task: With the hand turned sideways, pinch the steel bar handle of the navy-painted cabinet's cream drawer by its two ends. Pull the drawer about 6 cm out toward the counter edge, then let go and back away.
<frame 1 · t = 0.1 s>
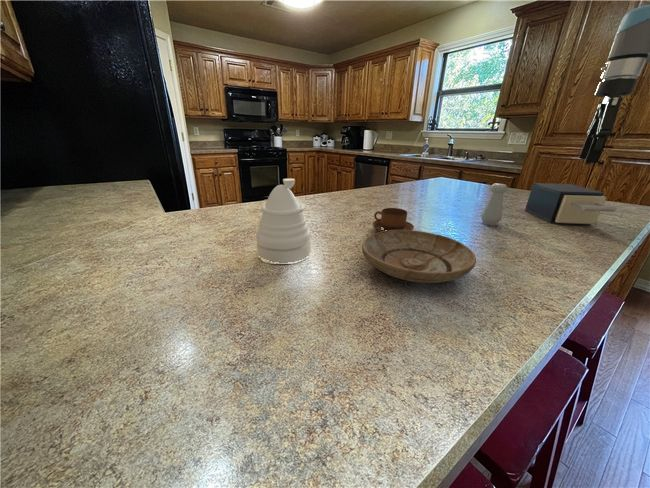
hand: (587, 160, 81), 20 cm above the worktop, tool pointing down, fingers open, 13 cm apart
drawer: (572, 207, 88), point 5 cm above the worktop, slide at 1.0 cm
ceramic bowl: (413, 267, 60), on the worktop
honey pot: (284, 253, 66), on the worktop
cup and saucer: (392, 231, 81), on the worktop
cabinet: (555, 217, 96), on the worktop
salt shaker: (489, 224, 88), on the worktop
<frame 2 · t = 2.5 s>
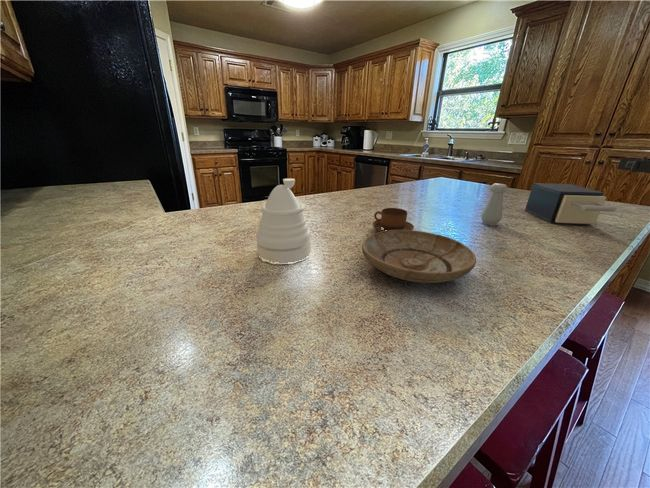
nothing on the worktop moved.
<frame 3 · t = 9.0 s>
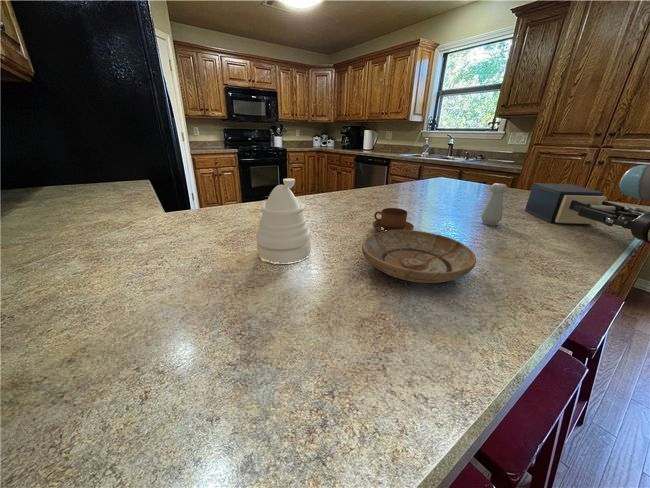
hand: (586, 205, 83), 7 cm above the worktop, tool horizontal, fingers closed on drawer, 8 cm apart
drawer: (572, 207, 88), point 5 cm above the worktop, slide at 1.0 cm, touching gripper
everything else where it was.
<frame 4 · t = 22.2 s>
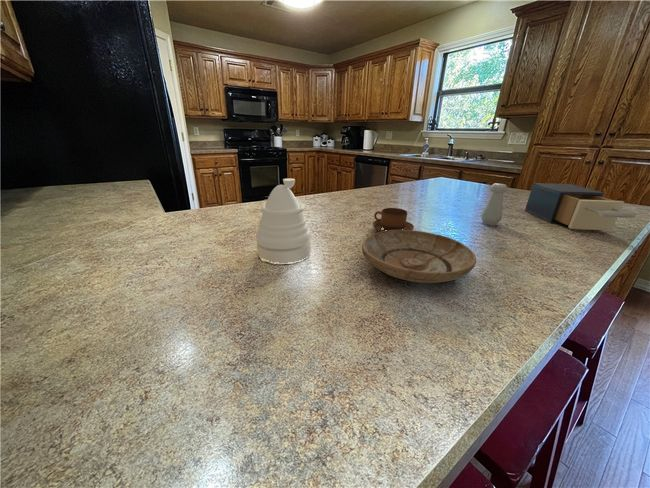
drawer: (587, 212, 83), point 5 cm above the worktop, slide at 7.0 cm
everything else where it was.
at the end: drawer slide at 7.0 cm; salt shaker moved 0.2 cm from its start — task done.
